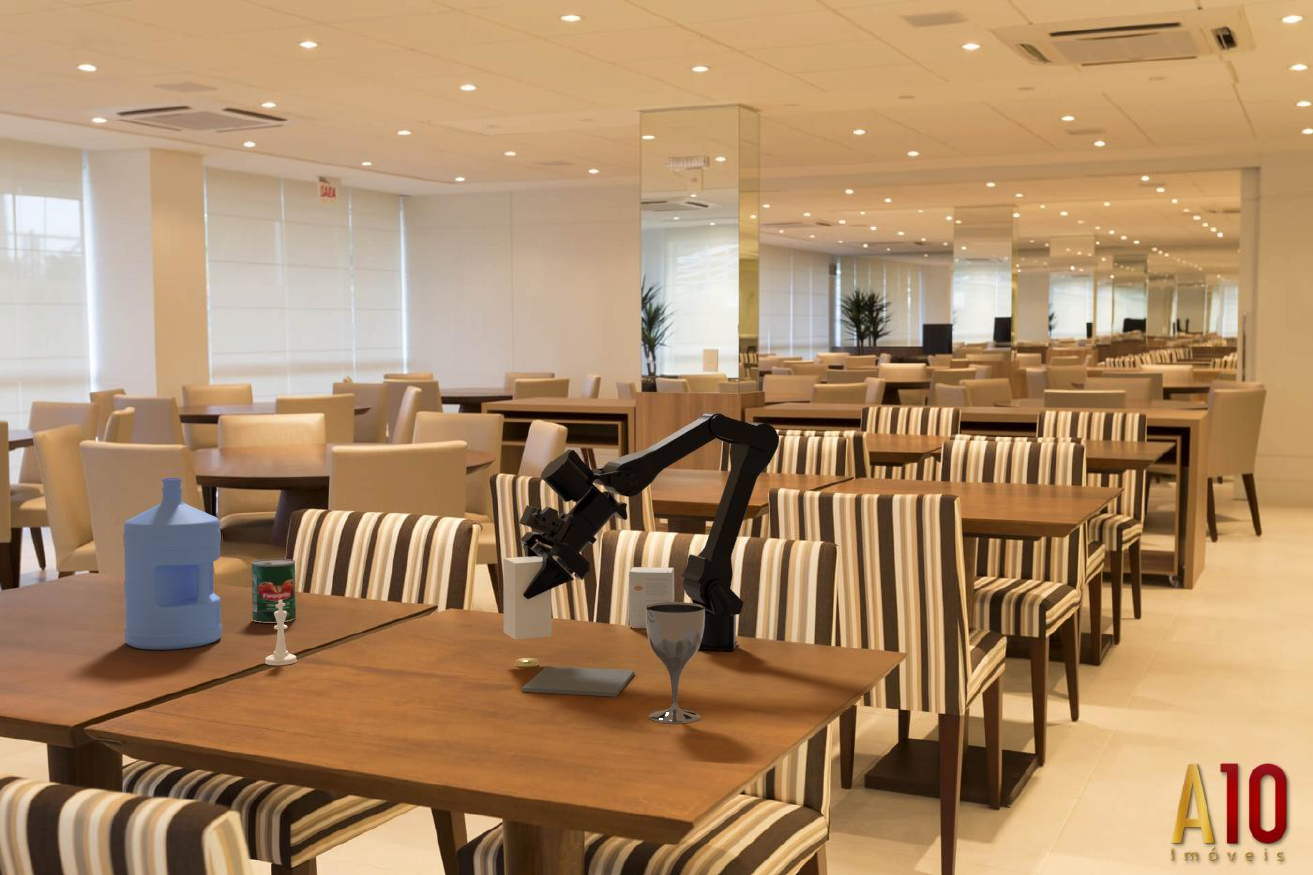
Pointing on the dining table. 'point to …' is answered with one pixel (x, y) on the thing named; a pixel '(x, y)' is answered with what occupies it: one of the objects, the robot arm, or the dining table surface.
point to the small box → (648, 591)
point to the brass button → (527, 662)
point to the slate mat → (579, 681)
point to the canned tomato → (273, 588)
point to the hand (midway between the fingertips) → (519, 594)
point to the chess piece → (280, 641)
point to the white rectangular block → (525, 600)
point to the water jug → (171, 575)
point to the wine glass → (675, 648)
